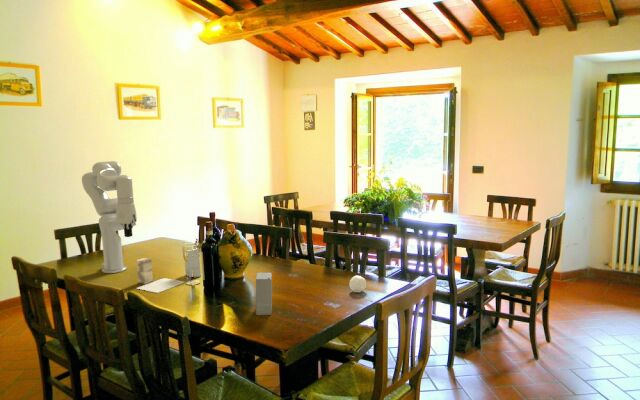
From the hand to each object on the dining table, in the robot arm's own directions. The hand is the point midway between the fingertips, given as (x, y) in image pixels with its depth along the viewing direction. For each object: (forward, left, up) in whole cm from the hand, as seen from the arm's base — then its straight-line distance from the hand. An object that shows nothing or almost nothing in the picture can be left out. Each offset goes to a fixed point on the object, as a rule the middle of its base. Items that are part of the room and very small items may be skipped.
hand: (128, 236), depth 241 cm
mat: (+21, 0, -23) cm, 31 cm away
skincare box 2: (+88, -6, -23) cm, 91 cm away
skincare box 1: (+24, +19, -23) cm, 38 cm away
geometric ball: (+113, +33, -23) cm, 120 cm away
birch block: (+10, 0, -23) cm, 25 cm away
